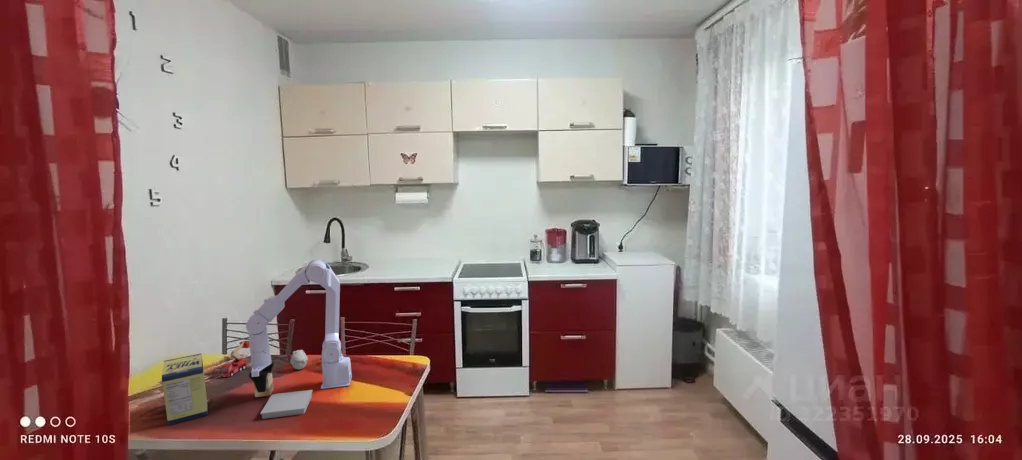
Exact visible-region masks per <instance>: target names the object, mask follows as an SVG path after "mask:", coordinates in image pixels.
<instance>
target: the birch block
mask: <svg viewBox="0 0 1022 460" xmlns="http://www.w3.org/2000/svg"><path fill="white" fill-rule="evenodd" d="M253 390H254V397H255V398H259V397H260V398H262V397H269V396H270V397H271V395H272V394H273V393H272V392H273V391H274V381H273V372H271V373H268V375H267V379H266V390H265V392H259V393H258V391H257V389H256V386H255V384H254V383H253Z"/></svg>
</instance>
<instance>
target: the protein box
mask: <svg viewBox="0 0 1022 460" xmlns="http://www.w3.org/2000/svg"><path fill="white" fill-rule="evenodd" d="M202 356H203V355H202V353H196V354H191V355H186V356H181V357H178V358H177V357H176V358H171V359H166V360H163V366H162V373H161V382H162V391H163V397H164V398H163V399H164V405H165V410H166V411H165V412H166V420H167V426H171V425H176V424H179V423H182V422H183V423H184V422H186V421H190V420H193V419H198V418H202V417H205V416H206V417H207V416H208V415H209V414H208V413H209V410H208V395H207V387H206V386H207V385H206V377H205V371H204V364H203V363H204V361H203V357H202Z"/></svg>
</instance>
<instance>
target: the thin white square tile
mask: <svg viewBox="0 0 1022 460" xmlns="http://www.w3.org/2000/svg"><path fill="white" fill-rule="evenodd" d="M312 397H313V389H307V390H297V391H287V392H281V393H280V392H279V393H271V394H270V397H269V398H268V400H267V402H266V403H265V405H264V407H263V408H262V410H261V412H260V415H261V418H262V419H263V420H265V419H271V418H272V419H273V418H280V417H281V418H282V417H290V416H297V415H298V416H299V415H304V414H305V413H306V411H307V408H308V406H309V404H310V402H311V400H312Z"/></svg>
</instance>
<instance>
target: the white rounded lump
mask: <svg viewBox="0 0 1022 460" xmlns="http://www.w3.org/2000/svg"><path fill="white" fill-rule="evenodd" d="M289 361H290V365H292V367H293V368H294V369H295V370H302V369H303V368H305V367H306V366H307V362H308V356H307V354H306V353H305V351H304V350H303V349H297V350H294V351H292V354H291V356H290V360H289Z"/></svg>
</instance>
